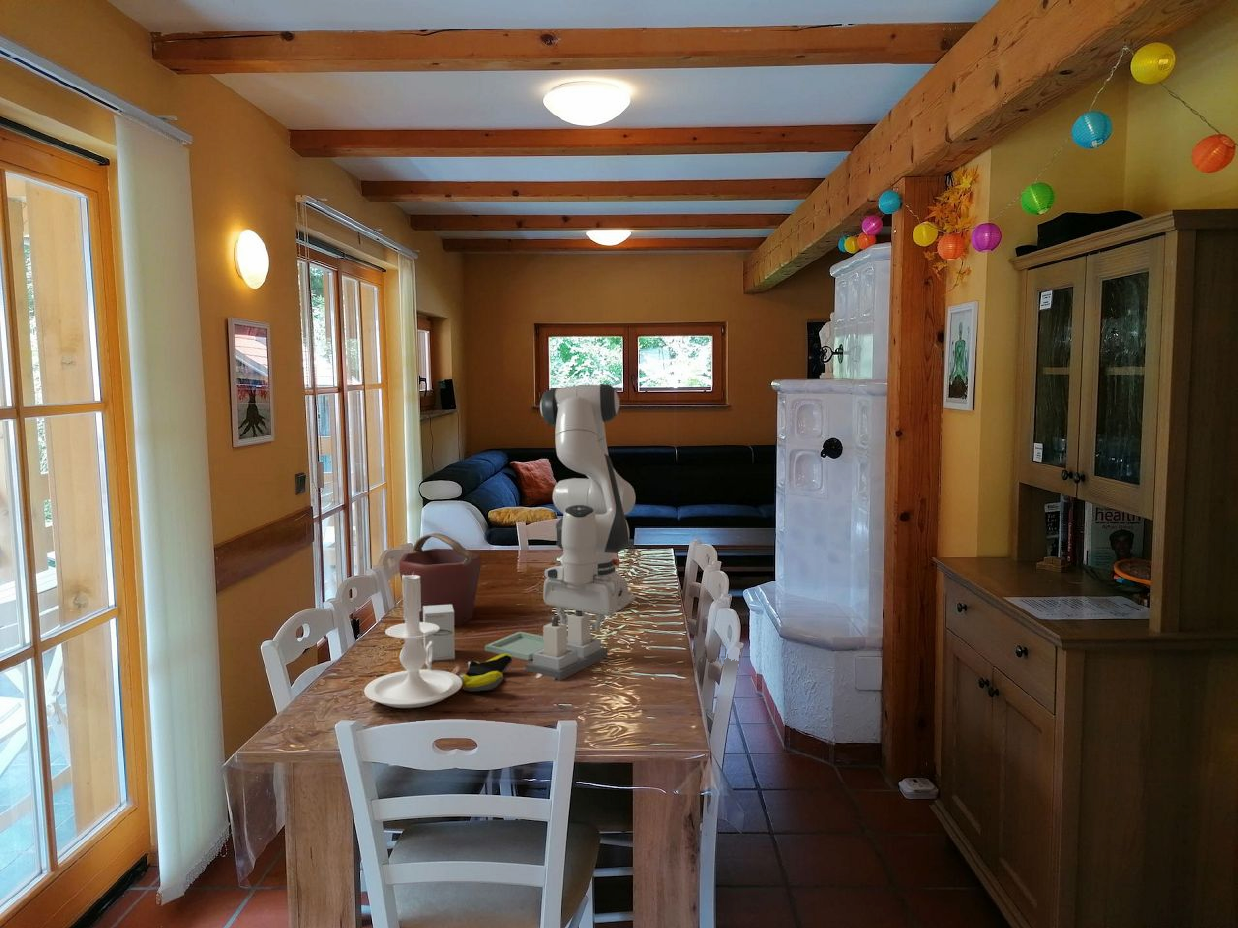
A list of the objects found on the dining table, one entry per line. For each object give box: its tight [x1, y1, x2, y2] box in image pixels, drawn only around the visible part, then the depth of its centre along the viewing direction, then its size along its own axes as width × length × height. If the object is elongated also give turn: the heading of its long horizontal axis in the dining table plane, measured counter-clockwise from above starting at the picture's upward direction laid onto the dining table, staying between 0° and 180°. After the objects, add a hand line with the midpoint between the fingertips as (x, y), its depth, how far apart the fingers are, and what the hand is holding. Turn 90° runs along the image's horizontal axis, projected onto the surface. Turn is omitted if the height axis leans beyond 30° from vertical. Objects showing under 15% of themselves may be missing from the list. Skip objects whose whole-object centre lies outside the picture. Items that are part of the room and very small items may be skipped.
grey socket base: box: [525, 615, 608, 682], centre depth 203 cm, size 20×10×13 cm, turn 148°
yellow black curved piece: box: [459, 653, 513, 692], centre depth 190 cm, size 15×6×10 cm
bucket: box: [398, 532, 482, 627], centre depth 239 cm, size 24×22×25 cm
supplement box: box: [422, 604, 456, 663], centre depth 208 cm, size 7×7×13 cm
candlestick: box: [363, 572, 462, 709], centre depth 182 cm, size 21×25×28 cm
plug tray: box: [484, 631, 543, 661], centre depth 214 cm, size 14×14×2 cm
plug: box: [567, 610, 592, 646], centre depth 207 cm, size 4×4×11 cm
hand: (580, 627), depth 207 cm, fingers open, 8 cm apart
